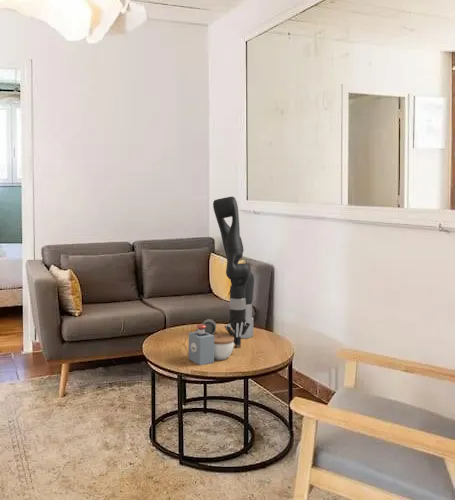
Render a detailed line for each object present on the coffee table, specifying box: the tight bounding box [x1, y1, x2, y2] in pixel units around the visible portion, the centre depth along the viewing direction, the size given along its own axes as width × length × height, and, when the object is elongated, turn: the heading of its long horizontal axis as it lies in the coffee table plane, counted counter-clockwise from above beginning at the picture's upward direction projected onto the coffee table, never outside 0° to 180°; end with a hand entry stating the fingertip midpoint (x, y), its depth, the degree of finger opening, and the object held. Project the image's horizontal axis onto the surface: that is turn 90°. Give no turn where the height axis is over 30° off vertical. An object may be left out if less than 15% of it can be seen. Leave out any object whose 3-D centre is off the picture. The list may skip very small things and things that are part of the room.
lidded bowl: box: [213, 332, 235, 361], centre depth 264 cm, size 13×13×11 cm
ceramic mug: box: [194, 318, 217, 335], centre depth 303 cm, size 11×8×8 cm
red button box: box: [188, 331, 215, 366], centre depth 259 cm, size 8×10×12 cm
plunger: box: [196, 323, 206, 337], centre depth 258 cm, size 4×4×6 cm
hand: (237, 344), depth 270 cm, fingers closed
